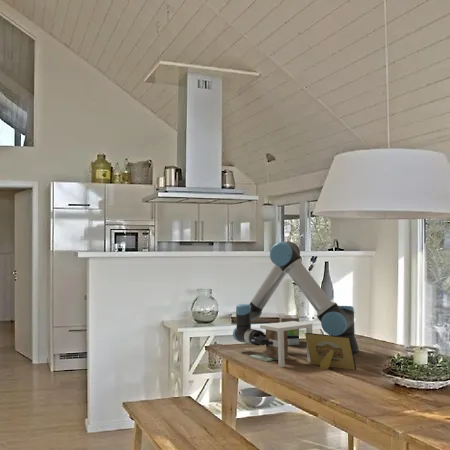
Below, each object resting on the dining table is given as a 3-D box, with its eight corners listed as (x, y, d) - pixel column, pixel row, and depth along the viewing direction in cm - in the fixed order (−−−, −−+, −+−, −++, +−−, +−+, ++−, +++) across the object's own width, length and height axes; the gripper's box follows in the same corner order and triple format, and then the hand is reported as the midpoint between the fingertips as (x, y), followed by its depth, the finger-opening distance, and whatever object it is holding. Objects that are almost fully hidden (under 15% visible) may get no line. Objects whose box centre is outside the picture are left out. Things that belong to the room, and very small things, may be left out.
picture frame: (356, 369, 267) (353, 335, 266) (345, 375, 261) (342, 340, 260) (312, 363, 283) (309, 331, 282) (301, 368, 276) (298, 336, 275)
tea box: (300, 345, 331) (299, 317, 332) (281, 345, 331) (280, 318, 332) (297, 340, 346) (296, 314, 347) (279, 340, 347) (278, 314, 347)
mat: (249, 357, 302) (249, 355, 302) (272, 353, 309) (272, 351, 309) (266, 361, 290) (266, 359, 290) (289, 357, 297) (289, 356, 297)
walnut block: (266, 355, 296) (265, 328, 296) (276, 354, 299) (275, 327, 299) (277, 358, 288) (277, 331, 288) (287, 357, 291) (287, 329, 292)
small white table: (261, 362, 288) (260, 325, 289) (294, 356, 299) (293, 320, 299) (280, 367, 276) (279, 328, 276) (314, 361, 287) (313, 324, 287)
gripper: (270, 342, 314) (299, 348, 294) (239, 346, 304) (267, 353, 284) (269, 327, 314) (298, 333, 295) (239, 331, 304) (267, 337, 284)
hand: (283, 343), depth 289 cm, fingers closed on walnut block, 6 cm apart
